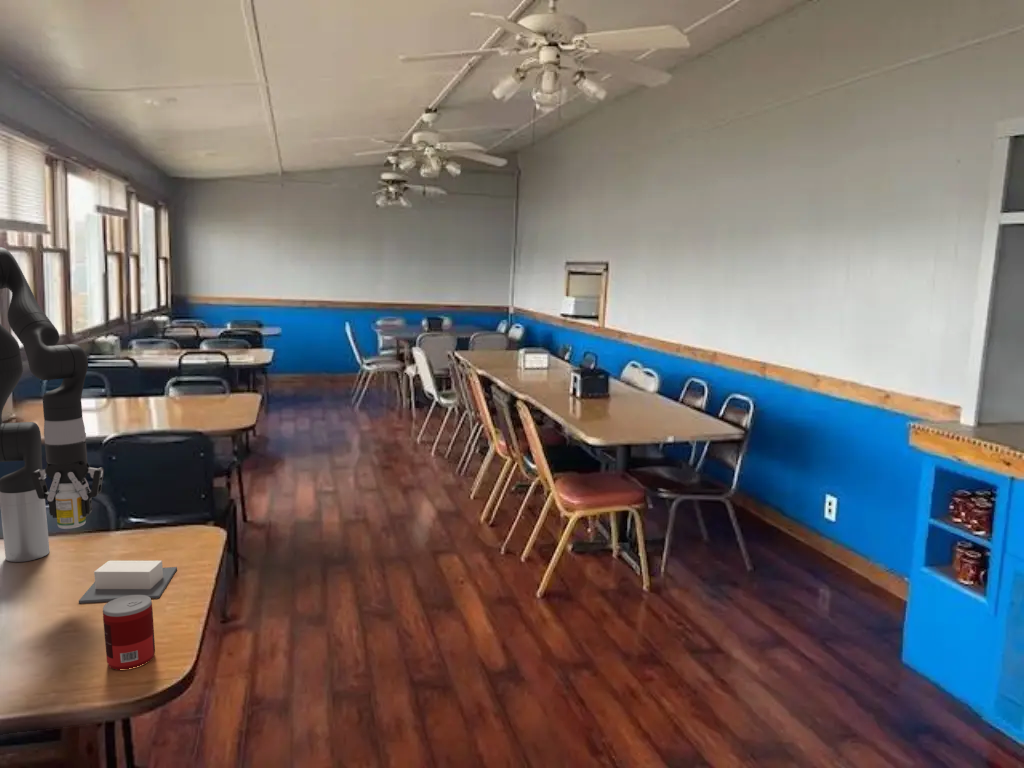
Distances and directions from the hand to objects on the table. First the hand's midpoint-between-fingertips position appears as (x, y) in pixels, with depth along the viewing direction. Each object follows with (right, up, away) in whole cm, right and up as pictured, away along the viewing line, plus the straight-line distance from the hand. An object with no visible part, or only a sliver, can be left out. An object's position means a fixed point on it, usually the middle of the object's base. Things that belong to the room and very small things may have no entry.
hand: (71, 515), depth 166 cm
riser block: (+9, -16, +7) cm, 20 cm away
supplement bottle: (0, -2, 0) cm, 2 cm away
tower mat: (+9, -17, +7) cm, 20 cm away
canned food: (+25, -22, -25) cm, 42 cm away
